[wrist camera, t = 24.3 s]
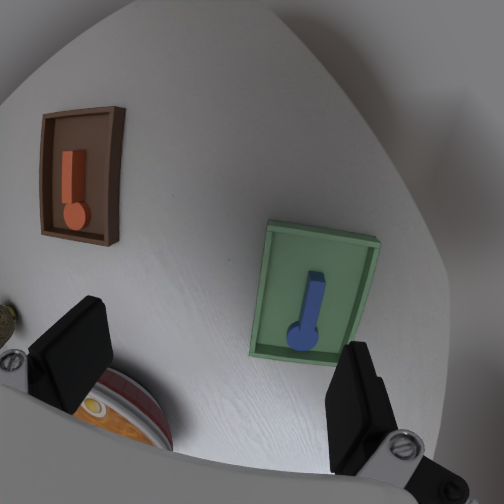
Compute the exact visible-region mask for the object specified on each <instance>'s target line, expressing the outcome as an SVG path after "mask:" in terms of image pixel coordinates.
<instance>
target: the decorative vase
mask: <svg viewBox="0 0 504 504" xmlns="http://www.w3.org/2000/svg"><path fill="white" fill-rule="evenodd" d="M17 320H18V316H17V313H16V311H15V309H14V308H13V307H12V306H11V305H5V306H2V305H0V349H1V348H2V347H3V346H4V344H5V343H6V342H7V341H8V340H9V339H10V337H11V336H12V334H13V332H14V324H15V323H16V322H17Z"/></svg>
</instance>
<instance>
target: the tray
mask: <svg viewBox="0 0 504 504" xmlns="http://www.w3.org/2000/svg"><path fill="white" fill-rule="evenodd" d="M125 110H126V109H125V108H121V107H116V106H111V107H98V108H87V109H78V110H70V111H62V112H55V113H48V114H43V120H42V130H41V143H40V165H39V199H40V221H41V234H42V235H46V236H52V237H57V238H62V239H68V240H73V241H79V242H84V243H90V244H96V245H101V246H107V247H109V246H111V245H112V244H114V243H116V242H118V241H119V183H120V164H121V149H122V138H123V127H124V118H125ZM71 150H86V154H85V176H84V200H83V201H85V202H86V203H87V205H88V206H89V209H90V213H91V218H90V222H89V224H88V225H87V226H86V227H84V228H82V229H80V230H72V229H70V228H69V227H68V226H67V224H66V222H65V220H64V208H65V206H66V204H64V203H62V158H63V151H71Z"/></svg>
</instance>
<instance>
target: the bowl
mask: <svg viewBox="0 0 504 504" xmlns="http://www.w3.org/2000/svg"><path fill="white" fill-rule="evenodd" d="M72 416H74V417H76V418H79V419H81V420H83V421H85V422H88V423H90V424H92V425H95V426H97V427H100V428H102V429H105V430H108V431H110V432H113V433H115V434H118V435H121V436H124V437H127V438H129V439H132V440H135V441H138V442H141V443H145V444H148V445H151V446H154V447H158V448H161V449H165V450H168V451H172V452H173V442H172V435H171V432H170V428H169V424H168V422H167V420H166V417H165V415H164V414H163V412H162V410H161V408H160V407H159V405H158V403H157V402H156V400H155V399H154V398H153V397H152V396H151V395H150V394H149V393H148V392H147V391H146V390H145V389H144V388H143V387H142V386H141V385H139V384H138V383H137V382H135V381H134V380H133V379H131V378H129V377H128V376H126V375H124V374H123V373H120V372H118V371H116V370H114V369H111V368H107V369H106V370H105V372H104V373H103V374H102V376H101V377H100V378H99V380H98V381H97V383H96V384H95V385H94V387H93V388H92V389H91V391H90V392H89V394H88V395H87V396H86V398H85V399H84V401H83V402H82V404H81V405H80V406H79V408H78V409H77V411H76V412H75V413H74V414H73V415H72Z"/></svg>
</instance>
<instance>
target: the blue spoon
mask: <svg viewBox="0 0 504 504" xmlns="http://www.w3.org/2000/svg"><path fill="white" fill-rule="evenodd" d="M325 286H326V280H325V277H324V273H321V272H314V271H309V272H308V277H307V282H306V287H305V291H304V296H303V301H302V305H301V310H300V315H299V319H298V321H296V322H294V323H292V324H291V325H290V326H289V327H288V329H287V337H286V339H287V343H288V345H289V346H290V347H291V348H292V349H294V350H296V351H308V350H310V349H312V348H313V347H314V346H315V345H316V344H317V342H318V339H319V336H318V329H317V327H316V323H317V319H318V315H319V311H320V307H321V303H322V299H323V295H324V291H325Z"/></svg>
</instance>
